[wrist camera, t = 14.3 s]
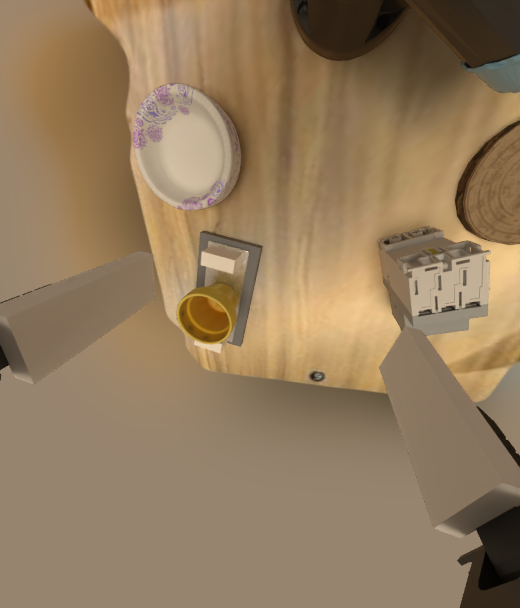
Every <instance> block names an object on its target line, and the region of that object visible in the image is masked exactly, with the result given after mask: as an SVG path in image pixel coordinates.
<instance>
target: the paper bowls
mask: <svg viewBox="0 0 520 608" xmlns="http://www.w3.org/2000/svg"><path fill="white" fill-rule="evenodd" d="M133 130H134V131H133V145H134V152H135V157H136V160H137V163H138V166H139V169H140V172H141V174H142V176H143V177H144V179H145V181H146V182H147V184H148V185H149V187H150V188H151V189H152V191H153V192H154V193H155V194H156V195H157V196H158V197H159V198H160V199H162V200H163V201H164V202H166V203H167V204H169V205H171V206H173V207H175V208H177V209H181V210H186V211H195V210H201V209H205V208H209V207H211V206H214V205H216V204H218V203H220V202H221V201H223V200H224V199H225V198H226V197H227V196H228V194H229V193H230V192H231V191H232V189H233V188H234V186H235V184H236V181H237V180H238V176H239V173H240V167H241V149H240V143H239V138H238V135H237V132H236V129H235V127H234V125H233V123H232V121H231V120H230V118H229V117H228V115H227V114H226V113H225V111H224V110H223V109H222V108H221V107H220V106H219V105H218V104H217V103H215V102H214V101H213V100H212V99H211V98H209V97H208V96H206V95H205V94H204V93H202V92H201V91H199V90H198V89H196V88H194V87H192V86H189V85H185V84H179V83H172V84H166V85H163V86H160V87H158V88H156V89H155V90H154V91H152V92H151V93H150V94H149V95H148V96H147V97H146V98H145V100H144V101H143V102H142V104H141V106H140V108H139V110H138V112H137V115H136V119H135V123H134V129H133Z"/></svg>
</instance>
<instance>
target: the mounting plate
mask: <svg viewBox="0 0 520 608" xmlns="http://www.w3.org/2000/svg"><path fill="white" fill-rule="evenodd" d="M209 240H211V241H215V242H219V243H222V244H226V245H230V246H233V247H237V248H241V249H245V250H248V251H250V252H249V257H248V262H247V268H246V273H245V279H244V284H243V290H242V295H241V301H240V306H239V312H238V317H237V322H236V328H235V333H234V339H233V342H229V341H227V343H230V344H233V345H236V346H240V347H241V345H242V342H243V337H244V332H245V328H246V323H247V318H248V313H249V309H250V304H251V299H252V294H253V290H254V285H255V280H256V275H257V271H258V266H259V261H260V256H261V252H262V246H259V245H255V244H251V243H247V242H244V241H240V240H236V239H232V238H229V237H225V236H221V235H217V234H213V233H210V232H206V231H202V232H200V245H199V259H198V273H197V287H196V288H199V287H204V285H205V274H206V266H202V265H201V254H202V251H203V250H205V249H207V248H208V241H209Z"/></svg>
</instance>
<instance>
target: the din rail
mask: <svg viewBox="0 0 520 608" xmlns="http://www.w3.org/2000/svg"><path fill="white" fill-rule="evenodd" d="M212 245H216V246H220V247H223V248H227V249H231V250H234V251H238V252H242V253H243V257H242V263H241V266H240V267H239V268H238V269H237V270H236V271H235V272H234V273H233V274H231V273H227V272H224V271H220V270H216V269H213V268H209V267H206V274H205V285H204V287H208V286H211V285H213V284H217V283H223V284H226V285H228V286H230V287H231V288H232V289H233V290H234V291H235V292H236V294H237V299H238V300H237V306H236V313H237V317H238V312H239V306H240V301H241V295H242V290H243V284H244V279H245V273H246V268H247V262H248V257H249V252H250V251H248V250H245V249H241V248H237V247H233V246H230V245H226V244H222V243H219V242H215V241H211V240H209V241H208V247H210V246H212ZM236 322H237V319H236ZM235 328H236V323H235V326H234V328H233V330H232V332H231V334H230V335H229V340H228V341H229V342H233V339H234V333H235Z"/></svg>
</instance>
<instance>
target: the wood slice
mask: <svg viewBox="0 0 520 608" xmlns="http://www.w3.org/2000/svg"><path fill="white" fill-rule="evenodd" d="M455 204H456V210H457V216H458V218H459V220H460V221H461V223H462V224H463V226H464V227H465V229H466V230H468V231H469V232H471V233H473V234H474V235H476V236H477V237H479V238H482V239H485V240H488V241H492V242H497V243H502V244H507V245H514V244H520V121H518V122H516V123H514V124H512V125H509V126H507V127H506V128H505V129H504V130H502V131H501V132H500V133H498V134H497V135H496V136H494V137H493V138H492V139H490V140H489V141H488V142H486V143H485V144H484V146H483V147H482V148H481V149H480V150H479V151H478V153H477V154H476V155H475V156H474V157H473V158H472V160H471V161H470V162H469V163H468V165H467V167H466V169H465V171H464V173H463V175H462V177H461V179H460V181H459V183H458V188H457V193H456V198H455Z"/></svg>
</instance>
